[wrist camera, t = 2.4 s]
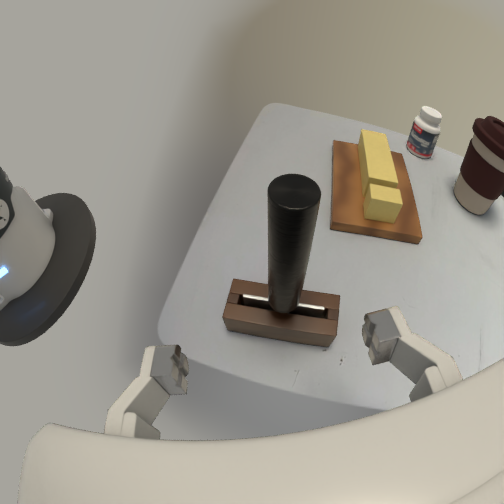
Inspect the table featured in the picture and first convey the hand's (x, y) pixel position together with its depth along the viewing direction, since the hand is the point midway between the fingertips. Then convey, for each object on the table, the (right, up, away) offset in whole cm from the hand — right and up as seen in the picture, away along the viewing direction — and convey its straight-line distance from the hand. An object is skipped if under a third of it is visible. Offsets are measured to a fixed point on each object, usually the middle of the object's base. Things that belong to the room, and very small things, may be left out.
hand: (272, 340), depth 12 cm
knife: (+2, -3, +16) cm, 16 cm away
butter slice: (+15, +8, +21) cm, 27 cm away
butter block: (+17, +15, +26) cm, 34 cm away
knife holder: (+2, -3, +16) cm, 16 cm away
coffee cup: (+36, +12, +25) cm, 45 cm away
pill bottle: (+30, +22, +32) cm, 49 cm away
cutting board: (+16, +13, +26) cm, 33 cm away
